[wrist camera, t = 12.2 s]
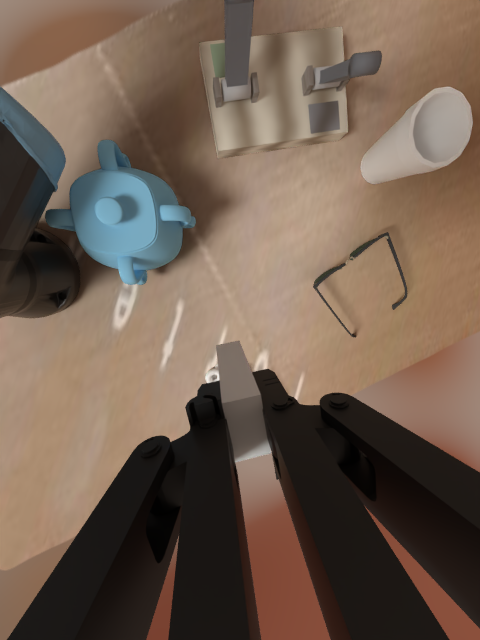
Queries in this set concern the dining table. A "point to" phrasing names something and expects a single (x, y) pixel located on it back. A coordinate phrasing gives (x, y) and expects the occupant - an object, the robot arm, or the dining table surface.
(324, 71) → the lever
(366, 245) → the sunglasses
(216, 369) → the teacup and saucer
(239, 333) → the dining table surface
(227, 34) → the lever
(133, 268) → the decorative pot
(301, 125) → the switch base
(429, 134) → the foam cup
